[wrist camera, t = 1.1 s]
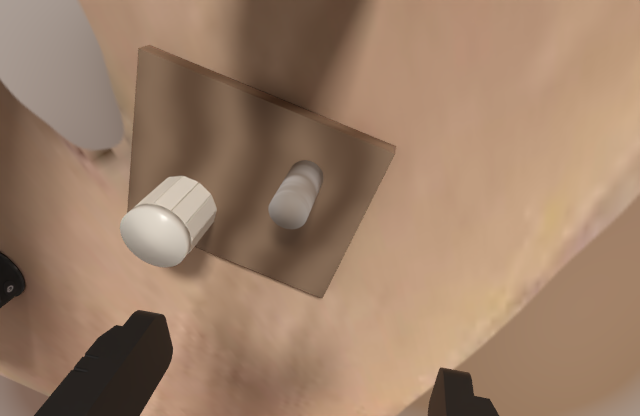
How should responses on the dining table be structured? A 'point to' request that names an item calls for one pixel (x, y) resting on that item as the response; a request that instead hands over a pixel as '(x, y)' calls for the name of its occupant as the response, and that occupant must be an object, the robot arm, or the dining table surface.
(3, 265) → the milk frother
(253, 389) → the dining table surface
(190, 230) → the cap
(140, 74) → the post board
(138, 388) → the robot arm
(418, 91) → the dining table surface
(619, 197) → the dining table surface
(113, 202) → the dining table surface
